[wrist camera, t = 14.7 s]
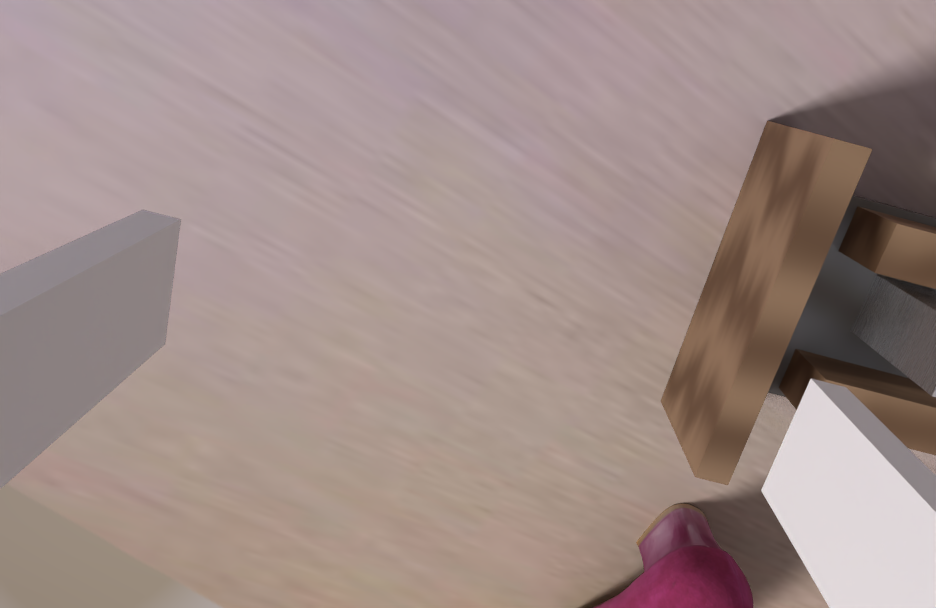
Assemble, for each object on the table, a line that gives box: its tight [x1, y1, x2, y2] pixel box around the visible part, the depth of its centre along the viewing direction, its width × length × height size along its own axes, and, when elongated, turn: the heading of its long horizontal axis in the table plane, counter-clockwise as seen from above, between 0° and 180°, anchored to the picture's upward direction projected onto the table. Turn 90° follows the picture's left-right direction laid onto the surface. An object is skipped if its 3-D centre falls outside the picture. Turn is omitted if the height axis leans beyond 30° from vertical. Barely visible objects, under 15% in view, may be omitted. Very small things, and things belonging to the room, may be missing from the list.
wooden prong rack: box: [661, 121, 936, 485], centre depth 46 cm, size 20×18×10 cm
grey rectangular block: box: [850, 275, 936, 397], centre depth 45 cm, size 4×4×10 cm
